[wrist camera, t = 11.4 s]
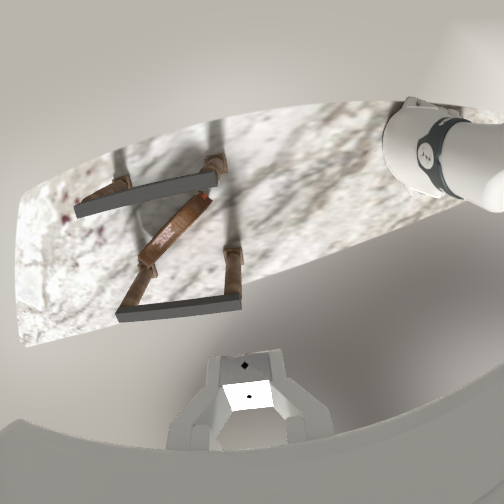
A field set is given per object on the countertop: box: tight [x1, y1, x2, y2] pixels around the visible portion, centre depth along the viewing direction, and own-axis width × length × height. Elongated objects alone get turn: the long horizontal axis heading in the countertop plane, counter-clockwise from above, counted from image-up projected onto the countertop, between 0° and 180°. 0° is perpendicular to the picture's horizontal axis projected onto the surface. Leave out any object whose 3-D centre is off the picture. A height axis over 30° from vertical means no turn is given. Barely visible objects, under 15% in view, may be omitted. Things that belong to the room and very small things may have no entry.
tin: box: [138, 191, 213, 268], centre depth 41 cm, size 15×3×8 cm, turn 132°
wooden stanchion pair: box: [82, 153, 244, 307], centre depth 39 cm, size 19×19×12 cm
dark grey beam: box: [115, 293, 242, 323], centre depth 36 cm, size 18×2×2 cm, turn 98°
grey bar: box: [74, 170, 218, 219], centre depth 29 cm, size 18×2×2 cm, turn 98°
